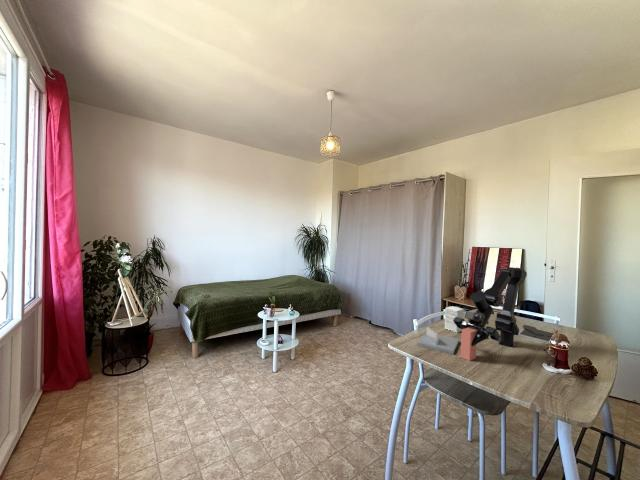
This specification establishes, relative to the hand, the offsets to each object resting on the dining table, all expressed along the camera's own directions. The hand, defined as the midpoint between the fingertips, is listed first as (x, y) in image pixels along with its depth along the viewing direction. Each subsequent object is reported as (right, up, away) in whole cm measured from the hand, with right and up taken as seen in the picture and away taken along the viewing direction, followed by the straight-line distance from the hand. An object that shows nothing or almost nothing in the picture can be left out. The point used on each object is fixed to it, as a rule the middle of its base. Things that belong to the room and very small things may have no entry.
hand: (467, 343), depth 118 cm
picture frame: (+55, -8, +29) cm, 63 cm away
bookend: (-9, -4, +15) cm, 18 cm away
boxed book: (+1, -7, +1) cm, 7 cm away
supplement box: (+12, -6, +36) cm, 38 cm away
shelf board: (-6, -6, +15) cm, 18 cm away
